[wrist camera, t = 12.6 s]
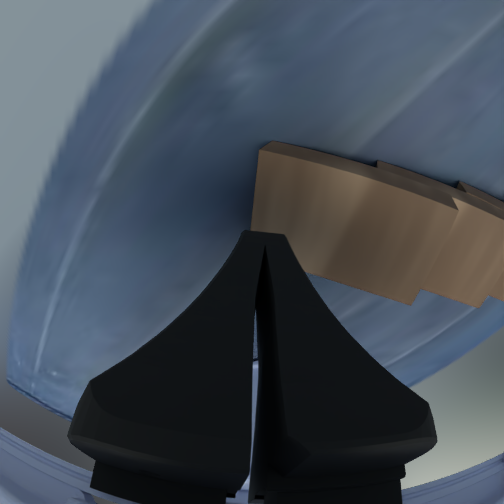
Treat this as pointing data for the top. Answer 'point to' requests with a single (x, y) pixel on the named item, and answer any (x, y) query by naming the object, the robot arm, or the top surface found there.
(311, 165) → the domino
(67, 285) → the top surface
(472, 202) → the domino
